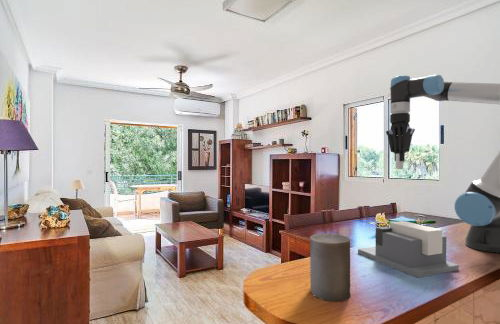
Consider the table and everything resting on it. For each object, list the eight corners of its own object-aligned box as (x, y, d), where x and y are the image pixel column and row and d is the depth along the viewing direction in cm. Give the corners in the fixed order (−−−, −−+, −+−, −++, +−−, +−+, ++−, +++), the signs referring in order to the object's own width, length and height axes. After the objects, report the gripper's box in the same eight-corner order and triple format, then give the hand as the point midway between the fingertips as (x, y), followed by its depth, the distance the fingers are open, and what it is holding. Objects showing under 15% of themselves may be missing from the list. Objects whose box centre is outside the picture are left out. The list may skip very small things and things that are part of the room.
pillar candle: (357, 292, 76) (356, 232, 76) (339, 306, 69) (339, 239, 69) (321, 282, 82) (321, 226, 82) (302, 293, 75) (302, 232, 75)
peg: (389, 243, 102) (389, 222, 102) (403, 241, 104) (403, 221, 104) (427, 255, 89) (428, 231, 89) (442, 253, 91) (442, 229, 91)
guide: (358, 253, 108) (358, 223, 108) (394, 248, 114) (394, 220, 114) (417, 277, 86) (417, 240, 86) (458, 269, 92) (458, 235, 92)
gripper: (381, 115, 134) (380, 168, 134) (406, 110, 122) (405, 169, 122) (394, 116, 137) (393, 168, 137) (419, 111, 125) (419, 169, 125)
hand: (399, 168), depth 130 cm, fingers closed
